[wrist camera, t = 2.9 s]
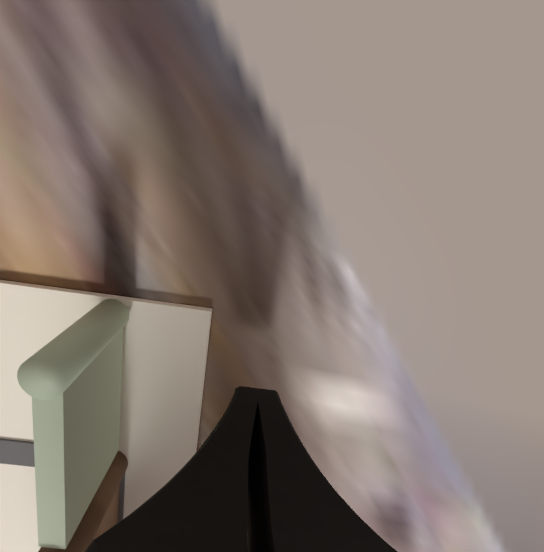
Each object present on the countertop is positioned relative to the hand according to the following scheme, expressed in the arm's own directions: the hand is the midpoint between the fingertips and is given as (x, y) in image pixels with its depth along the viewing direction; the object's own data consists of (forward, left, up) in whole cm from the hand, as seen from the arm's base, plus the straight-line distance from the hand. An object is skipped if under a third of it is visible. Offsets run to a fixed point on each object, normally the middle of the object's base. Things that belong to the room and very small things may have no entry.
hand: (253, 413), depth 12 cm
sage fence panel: (-1, +5, -2) cm, 6 cm away
